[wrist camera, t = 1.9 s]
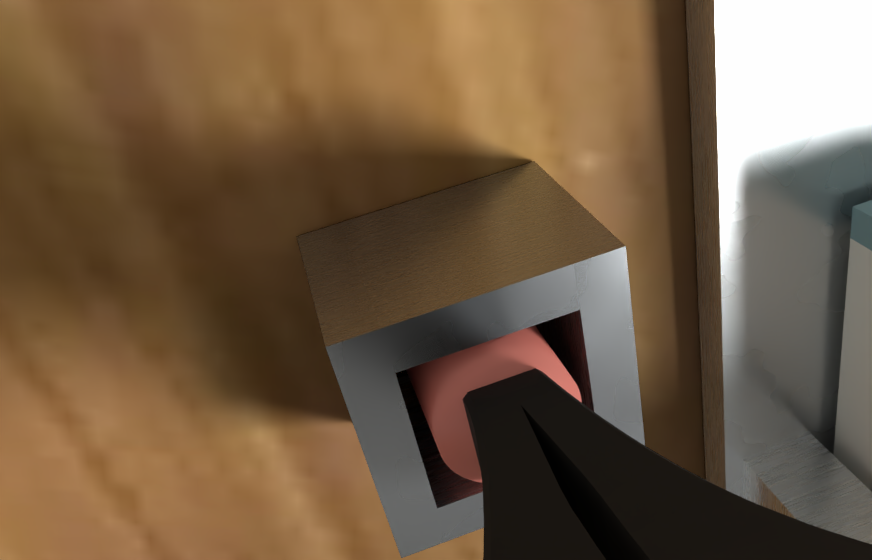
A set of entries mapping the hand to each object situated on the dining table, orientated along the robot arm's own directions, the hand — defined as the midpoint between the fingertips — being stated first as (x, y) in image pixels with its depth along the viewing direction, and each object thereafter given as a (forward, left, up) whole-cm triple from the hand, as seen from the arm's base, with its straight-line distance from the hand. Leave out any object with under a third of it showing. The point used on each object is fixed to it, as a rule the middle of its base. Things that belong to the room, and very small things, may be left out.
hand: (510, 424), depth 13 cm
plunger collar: (0, 0, -4) cm, 4 cm away
